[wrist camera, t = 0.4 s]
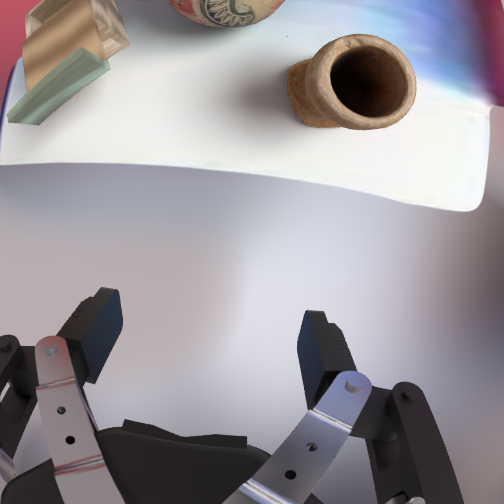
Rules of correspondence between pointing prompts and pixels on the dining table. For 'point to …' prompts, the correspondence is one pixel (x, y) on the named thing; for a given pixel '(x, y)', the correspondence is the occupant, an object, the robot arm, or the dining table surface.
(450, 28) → the dining table surface
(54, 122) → the dining table surface
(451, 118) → the dining table surface
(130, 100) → the dining table surface
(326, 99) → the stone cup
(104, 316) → the robot arm
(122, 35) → the birch box
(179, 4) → the ceramic jug
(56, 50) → the lid
